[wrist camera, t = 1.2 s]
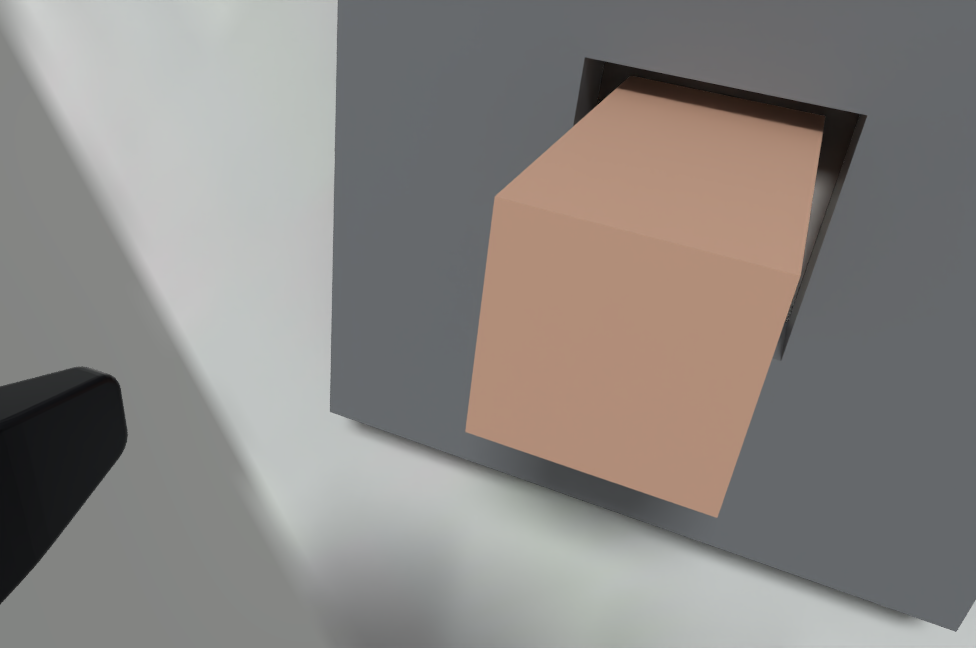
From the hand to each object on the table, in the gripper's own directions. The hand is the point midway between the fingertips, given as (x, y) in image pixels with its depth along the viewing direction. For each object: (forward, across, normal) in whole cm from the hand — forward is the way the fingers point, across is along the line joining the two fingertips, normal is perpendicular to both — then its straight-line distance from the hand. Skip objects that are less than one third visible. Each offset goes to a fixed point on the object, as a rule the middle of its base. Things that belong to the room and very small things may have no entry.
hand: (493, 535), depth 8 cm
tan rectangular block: (+12, 0, 0) cm, 12 cm away
